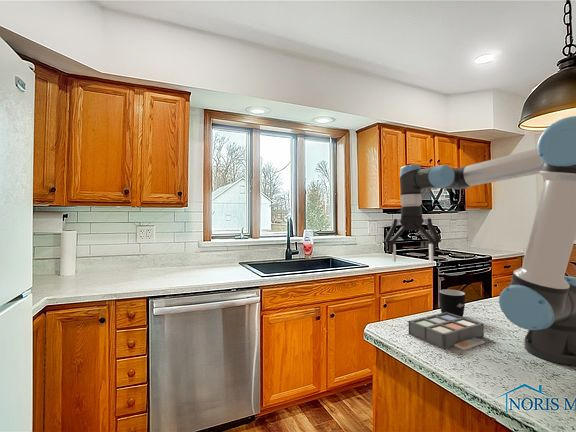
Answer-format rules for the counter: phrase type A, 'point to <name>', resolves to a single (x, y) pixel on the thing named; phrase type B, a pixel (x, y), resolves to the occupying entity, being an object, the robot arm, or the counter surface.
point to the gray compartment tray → (456, 338)
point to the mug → (452, 302)
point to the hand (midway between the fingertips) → (412, 261)
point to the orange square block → (454, 326)
